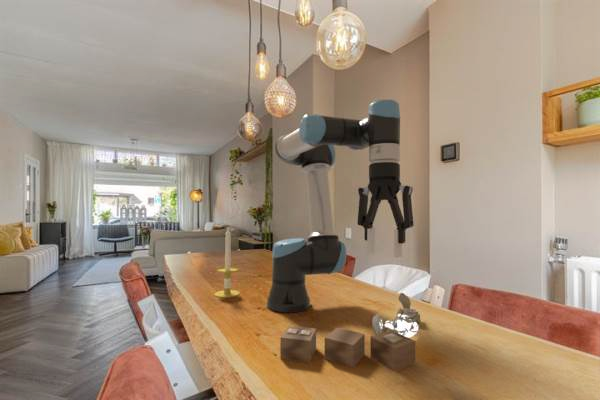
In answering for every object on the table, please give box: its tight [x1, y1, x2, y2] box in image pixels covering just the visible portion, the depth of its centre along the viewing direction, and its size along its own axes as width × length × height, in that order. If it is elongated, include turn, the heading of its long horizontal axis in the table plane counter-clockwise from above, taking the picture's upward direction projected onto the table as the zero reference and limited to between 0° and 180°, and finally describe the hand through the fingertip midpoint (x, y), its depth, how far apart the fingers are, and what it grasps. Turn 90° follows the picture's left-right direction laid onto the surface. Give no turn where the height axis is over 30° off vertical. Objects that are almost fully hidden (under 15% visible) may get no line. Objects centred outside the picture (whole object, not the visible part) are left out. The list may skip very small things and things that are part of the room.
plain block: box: [324, 327, 366, 368], centre depth 70 cm, size 7×7×5 cm
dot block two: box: [279, 325, 317, 363], centre depth 72 cm, size 7×7×5 cm
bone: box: [396, 292, 421, 325], centre depth 92 cm, size 9×6×10 cm
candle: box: [214, 227, 241, 299], centre depth 121 cm, size 10×10×27 cm
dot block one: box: [369, 330, 417, 372], centre depth 69 cm, size 7×7×5 cm
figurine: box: [372, 312, 419, 338], centre depth 83 cm, size 9×6×12 cm
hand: (384, 255), depth 75 cm, fingers open, 6 cm apart
